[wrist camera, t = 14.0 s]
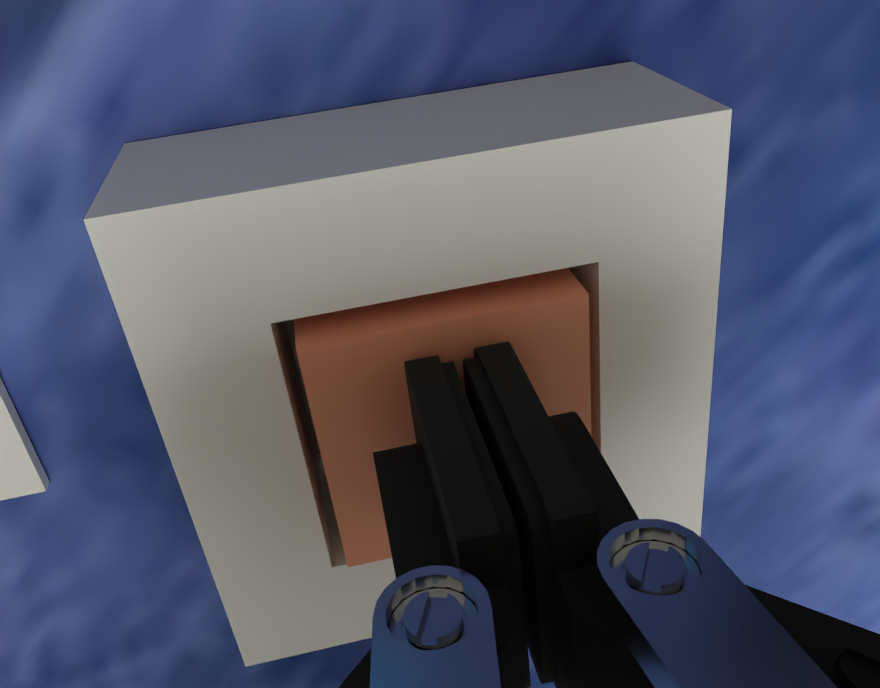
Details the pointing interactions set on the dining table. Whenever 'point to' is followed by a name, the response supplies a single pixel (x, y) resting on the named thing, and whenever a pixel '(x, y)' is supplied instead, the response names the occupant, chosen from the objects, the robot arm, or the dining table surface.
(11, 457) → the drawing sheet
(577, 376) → the button
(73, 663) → the dining table surface
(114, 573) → the dining table surface
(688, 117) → the button housing
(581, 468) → the robot arm
